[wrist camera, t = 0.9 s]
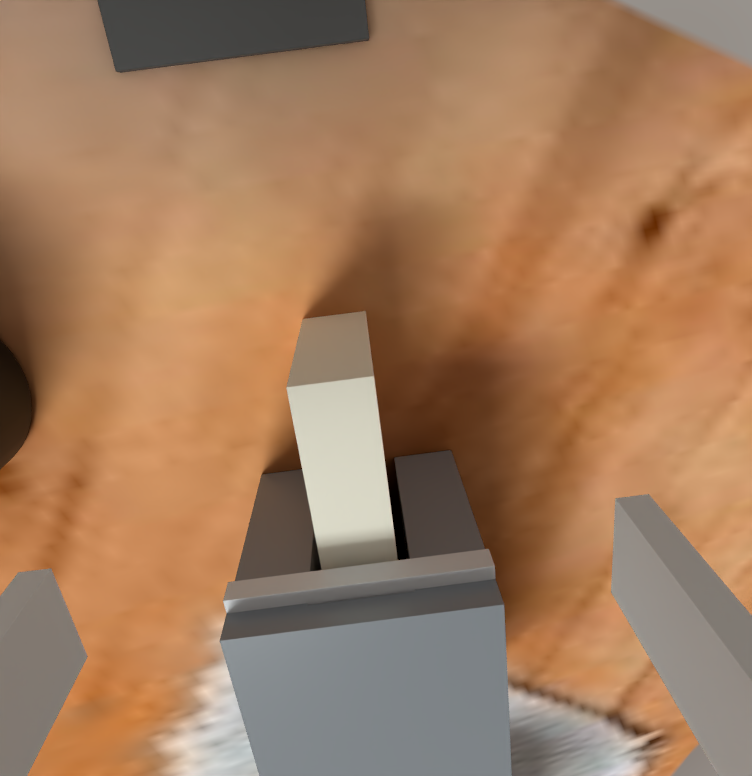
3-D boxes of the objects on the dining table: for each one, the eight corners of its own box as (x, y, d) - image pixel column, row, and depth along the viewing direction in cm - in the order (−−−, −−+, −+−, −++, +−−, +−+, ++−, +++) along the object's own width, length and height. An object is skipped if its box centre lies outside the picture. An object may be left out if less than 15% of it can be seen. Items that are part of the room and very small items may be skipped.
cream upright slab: (341, 542, 33) (339, 666, 25) (302, 318, 28) (285, 387, 20) (394, 535, 33) (410, 657, 25) (366, 310, 28) (374, 375, 20)
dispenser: (310, 692, 37) (297, 905, 27) (259, 464, 31) (215, 627, 20) (468, 672, 37) (516, 877, 27) (450, 440, 31) (503, 591, 20)
